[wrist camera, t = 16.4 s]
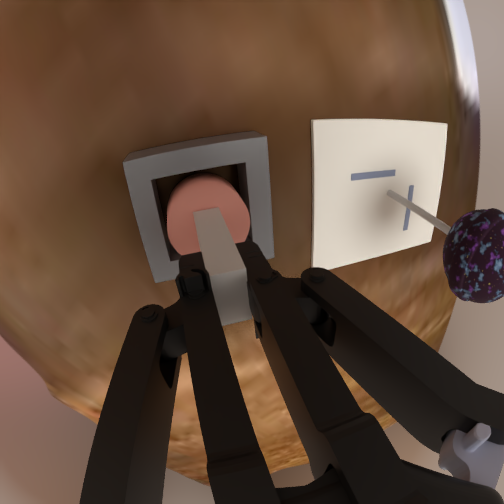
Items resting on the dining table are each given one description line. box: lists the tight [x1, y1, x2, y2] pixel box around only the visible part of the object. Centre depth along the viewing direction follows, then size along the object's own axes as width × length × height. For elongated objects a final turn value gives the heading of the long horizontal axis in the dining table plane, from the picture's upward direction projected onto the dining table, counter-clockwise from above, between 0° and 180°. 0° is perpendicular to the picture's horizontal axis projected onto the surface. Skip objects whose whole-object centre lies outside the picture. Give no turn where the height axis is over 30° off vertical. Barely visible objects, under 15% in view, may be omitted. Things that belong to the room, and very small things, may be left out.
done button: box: [167, 173, 250, 255], centre depth 19 cm, size 5×5×3 cm
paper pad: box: [311, 119, 447, 270], centre depth 26 cm, size 14×16×1 cm
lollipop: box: [387, 190, 504, 303], centre depth 19 cm, size 7×7×15 cm
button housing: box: [123, 131, 274, 283], centre depth 20 cm, size 9×9×3 cm
